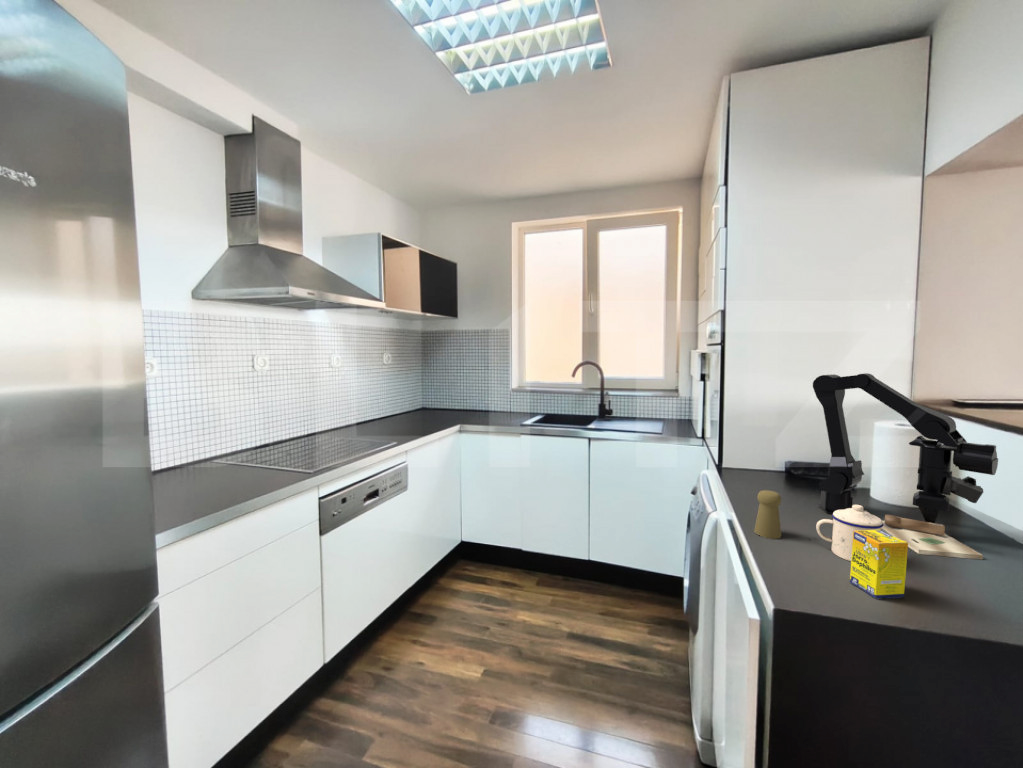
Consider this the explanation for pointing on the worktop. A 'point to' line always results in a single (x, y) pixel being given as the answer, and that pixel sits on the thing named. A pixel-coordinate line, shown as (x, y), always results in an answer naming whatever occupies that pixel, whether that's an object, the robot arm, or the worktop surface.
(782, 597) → the worktop surface
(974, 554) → the dial plate
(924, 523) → the walnut lever
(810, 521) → the worktop surface
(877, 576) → the supplement box
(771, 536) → the cork
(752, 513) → the worktop surface
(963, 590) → the worktop surface
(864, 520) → the teacup with lid
